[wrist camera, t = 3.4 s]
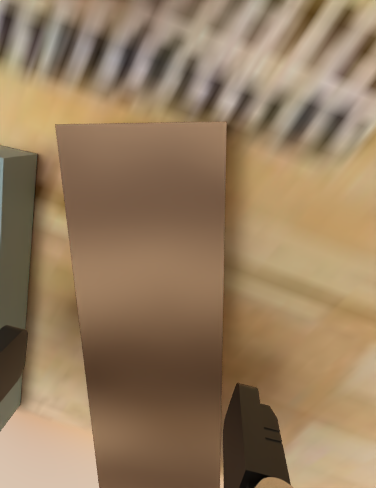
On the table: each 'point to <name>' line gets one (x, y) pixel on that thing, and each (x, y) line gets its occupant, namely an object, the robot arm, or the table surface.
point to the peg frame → (15, 249)
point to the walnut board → (149, 294)
